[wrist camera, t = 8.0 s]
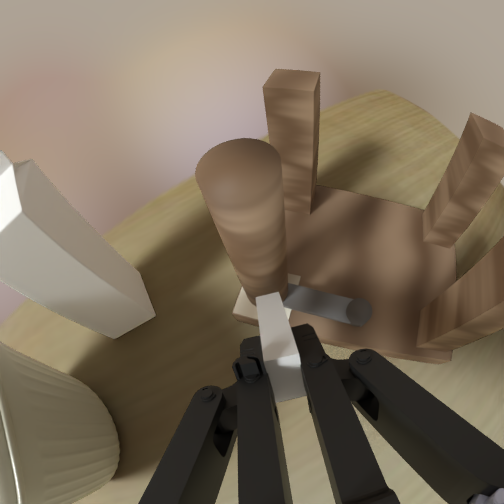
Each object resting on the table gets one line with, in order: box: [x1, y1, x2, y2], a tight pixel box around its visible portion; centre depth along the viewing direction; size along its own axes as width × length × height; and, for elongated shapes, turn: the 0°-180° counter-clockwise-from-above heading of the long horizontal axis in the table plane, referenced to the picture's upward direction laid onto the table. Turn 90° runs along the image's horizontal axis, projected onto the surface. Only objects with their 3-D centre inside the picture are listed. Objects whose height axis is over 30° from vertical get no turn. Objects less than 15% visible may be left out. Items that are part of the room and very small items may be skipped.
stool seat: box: [232, 69, 504, 364], centre depth 19 cm, size 21×16×16 cm
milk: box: [0, 150, 156, 339], centre depth 18 cm, size 6×6×22 cm
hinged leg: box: [195, 138, 372, 327], centre depth 16 cm, size 11×4×15 cm, turn 71°
